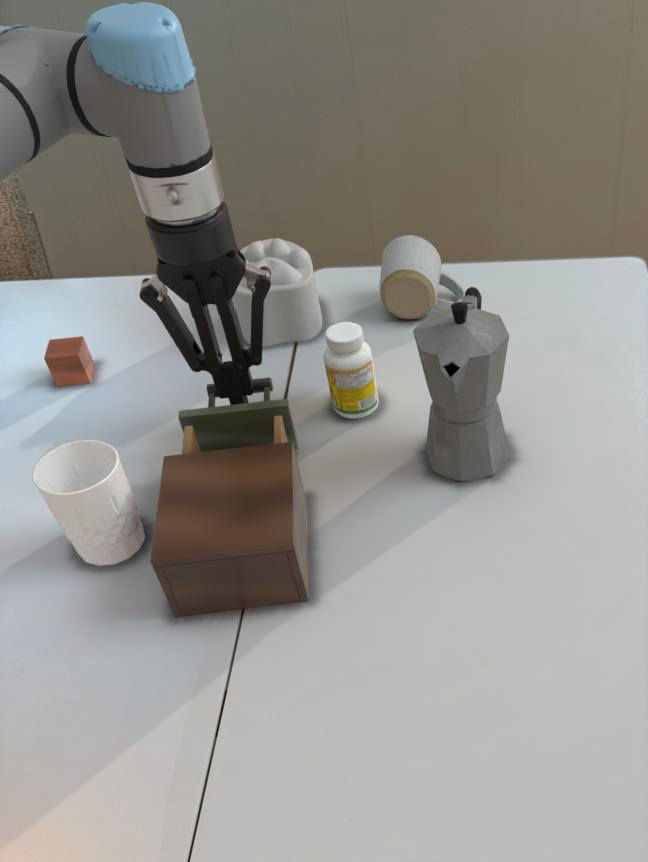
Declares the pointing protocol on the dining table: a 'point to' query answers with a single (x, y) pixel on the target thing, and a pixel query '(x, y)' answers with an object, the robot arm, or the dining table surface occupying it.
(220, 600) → the cabinet
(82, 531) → the white cup
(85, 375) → the block
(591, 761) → the dining table surface
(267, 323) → the lumpy-topped squat cylinder
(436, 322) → the coffeepot
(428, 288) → the ceramic mug
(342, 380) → the supplement bottle
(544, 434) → the dining table surface
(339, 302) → the dining table surface
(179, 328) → the robot arm
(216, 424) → the drawer
